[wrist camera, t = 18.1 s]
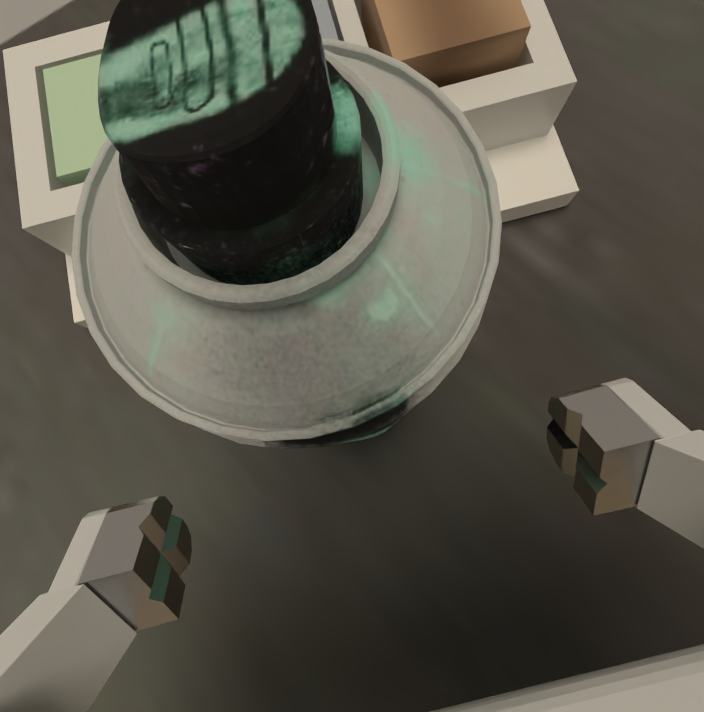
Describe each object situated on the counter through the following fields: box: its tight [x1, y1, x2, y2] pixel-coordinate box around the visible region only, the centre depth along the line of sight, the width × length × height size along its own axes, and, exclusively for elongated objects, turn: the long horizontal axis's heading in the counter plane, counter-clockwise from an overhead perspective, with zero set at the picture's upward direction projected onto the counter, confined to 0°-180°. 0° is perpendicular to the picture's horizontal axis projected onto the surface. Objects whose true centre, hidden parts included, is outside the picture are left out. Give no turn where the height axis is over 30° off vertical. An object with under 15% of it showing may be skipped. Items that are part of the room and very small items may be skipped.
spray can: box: [71, 0, 502, 449], centre depth 13 cm, size 6×6×20 cm
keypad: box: [3, 0, 579, 328], centre depth 23 cm, size 27×14×5 cm, turn 104°
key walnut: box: [361, 0, 531, 88], centre depth 21 cm, size 6×6×4 cm
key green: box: [43, 54, 108, 186], centre depth 22 cm, size 6×6×4 cm
